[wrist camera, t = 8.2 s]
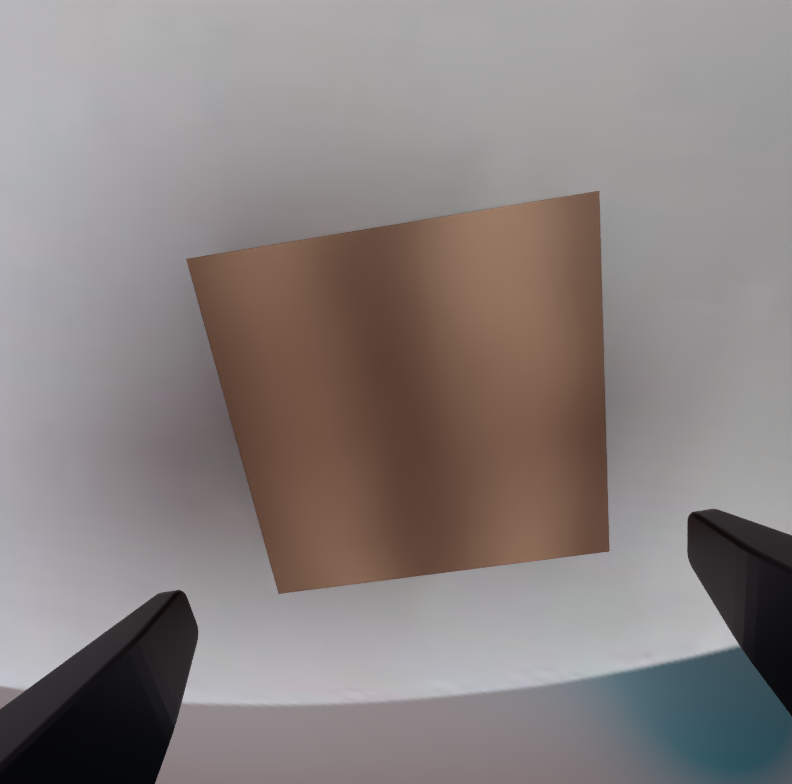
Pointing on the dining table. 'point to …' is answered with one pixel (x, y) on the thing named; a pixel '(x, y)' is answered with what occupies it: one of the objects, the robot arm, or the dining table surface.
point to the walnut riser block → (418, 392)
